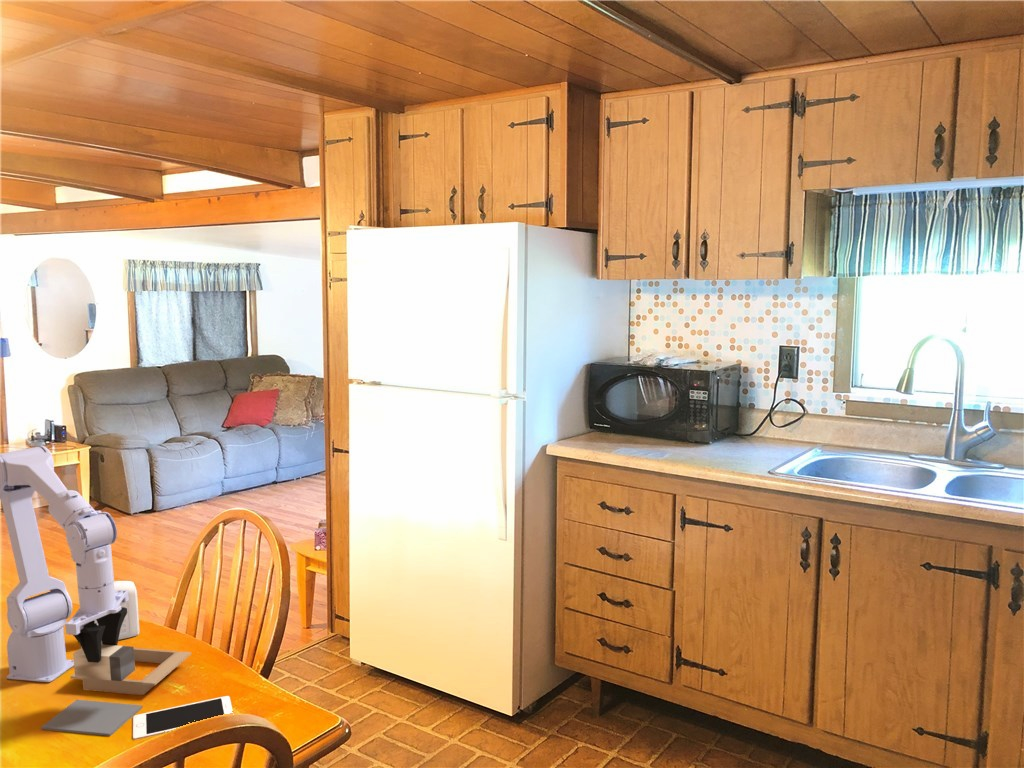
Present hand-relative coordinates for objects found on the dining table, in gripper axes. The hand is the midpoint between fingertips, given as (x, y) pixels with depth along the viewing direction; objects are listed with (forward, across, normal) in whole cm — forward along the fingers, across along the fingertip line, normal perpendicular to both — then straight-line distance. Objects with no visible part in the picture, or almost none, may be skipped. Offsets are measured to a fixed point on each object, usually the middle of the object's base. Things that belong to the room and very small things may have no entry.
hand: (102, 655), depth 146 cm
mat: (+10, -4, 0) cm, 10 cm away
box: (+3, 0, 0) cm, 4 cm away
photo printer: (+10, +24, +15) cm, 30 cm away
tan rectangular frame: (+10, +10, +1) cm, 14 cm away
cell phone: (+10, -2, -16) cm, 19 cm away
